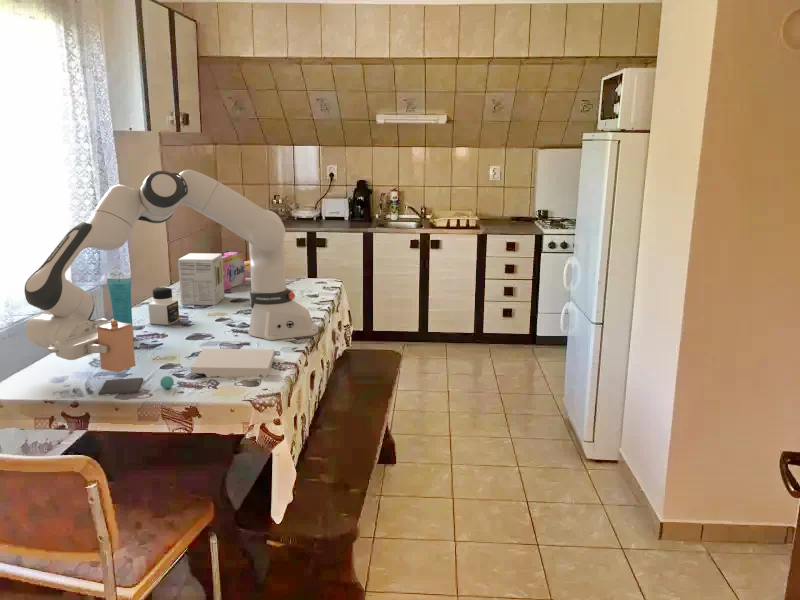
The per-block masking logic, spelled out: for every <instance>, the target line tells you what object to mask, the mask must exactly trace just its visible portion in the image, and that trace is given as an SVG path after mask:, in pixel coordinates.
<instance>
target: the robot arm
mask: <svg viewBox="0 0 800 600" xmlns="http://www.w3.org/2000/svg"><path fill="white" fill-rule="evenodd" d="M178 206H185V207H188V208H192V209H193V210H195V211H196V212H198V213H200V214H202V215H203V216H205V217H207V218H209V220H210V219H211V220H213V221H214V222H216V223H217V224H219V225H221V226H223V227H224V228H226V229H227V230H229V231H231V232H232V233H234V234H235V235H236V236H238V237H240V238H241V239H243V240H244V241H246V242H248V250H249V267H250V286H251V287H250V290H249V291H250V292H249V303H250V308H251V314H250V315H251V316H250V323H249V326H248V327H249V328H248V332H247V333H248V335H250V336H252V337H256V338H260V339H265V340H267V341H275V340H284V339H290V338H292V339H294V338H301V337H309V336H315V335H316V334H319V326H318V324H317V323H316V322H313V321H312V317H311V314H310V312H309V310H308V309H307V308H306V307H304V306H303V305H302V304H300V303H298V301H295V300H294V299H295V297H296V295H295V292H294V291H293V290H291V288H287V270H286V269H287V267H286V256H285V241H284V240H285V238H286V228H285V227H286V226H284V222H283V220H282V219H281V217H280V216H279V215H278V214H277V213H276V212H274V211H272V210H270V209H265V208H263V207H261V206H259V205H258V204H256V203H254V202H253V201H251V200H250V199H249V198H247V197H246V196H244V195H242V194H241V193H239V192H237V191H236V190H234V189H232V188H231V187H229V186H227V185H225V184H223V183H222V182H219V181H218V180H217V179H214V178H213V177H211V176H208V175H206V174H205V173H202V172H199V171H195V170H193V169H184V170H182V171H181V172H179V173H177V172H176V173H175V172H170V171H166V170H157V171H153V172H151V173H150V174H149V175H147V176H146V177H145V178H144V180H143V182H142V185H141V187H140V188H132V187H130V186H127V185H124V184H116V185H113V186H112V187H110V188H109V189H108V190H107V191H106V192H105V194H104V195H103V197H101V199H100V201H99V202H98V203H97V205H96V207H95V209H94V210H93V213H92V214H91V215H90V217H89V218H88V219H87V220H86V221H81V222H78V223H76V224H75V225H74V226H72V227H71V228H70V229H69V230H68V231H67V233H66V234H65V235H64V236H63V238H62V239H61V240H60V241H59V243H58V244H57V245H56V247H54V249H53V251H52V252H51V253H50V254H49V256H48V257H47V258H46V259H45V261H44V262H43V263H42V265H40V266H39V268H38V269H36V271H34V272H33V273H32V274H31V275H30V276H29V277H28V279H27V280H26V281H25V284H24V296H25V300H26V301H27V303H28V304H29V305H30V306H33V307H35V308H37V309H40V310H41V311H44V312H42V313H40V314H39V315H35V316H33V317H31V318H30V319H29V320H28V321H27V322H26V325H25V335H26V337H27V340H28V341H29V342H30V343H31V344H33V345H34V346H36V347H39V348H41V349H45V350H47V351H48V353H54V354H55V356H56V357H57V358H60V359H63V360H64V359H65V360H67V361H75V360H79V359H81V358H84V357H86V356H89V355H92V354H100V353H107V352H109V351H110V346H109V345H107V344H103V345H99V341H98V331H97V327H98V326H101V325H105V324H108V323H111V321H109V319H108V318H96V319H92V317H93V314H94V311H95V300H94V299H95V298H94V297H93V295H92V294H91V293H89V292H87V291H86V290H84V289H83V288H81V286H79V285H76V284H74V283H73V282H72V281H70V280H68V279H67V278H66V272H67V271H68V269H69V268H70V267H71V265H72V264H73V263H74V261H75V260H76V259H77V257H78V256H79V255H80V253H82V251H84V250H85V249H94V250H100V251H115V250H117V249H120V248H122V247H123V246H124V245H126V243H127V241H128V240H129V237H130V235H131V233H132V231H133V229H134V227H135V226H136V223H137V222H138V221H141V222H142V221H144V222H148V223H150V224H151V223H152V224H162V223H165V222H166V221H168V220H169V219H170V218H172V216H173V214H174V213H175V212H176V210H177V208H178ZM132 332H133V339H134V328H133V327H132Z"/></svg>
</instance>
